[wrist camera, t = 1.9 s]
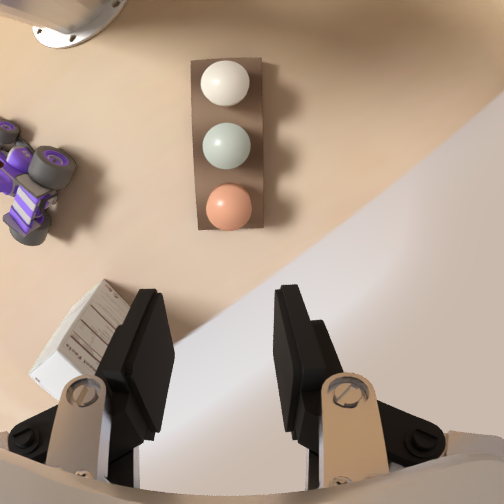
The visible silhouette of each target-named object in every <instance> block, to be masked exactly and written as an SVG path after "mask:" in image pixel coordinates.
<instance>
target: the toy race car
mask: <svg viewBox="0 0 504 504" xmlns="http://www.w3.org/2000/svg"><path fill="white" fill-rule="evenodd" d="M19 131H20V129H19V127H18V126H17V125H16V124H14V123H13V122H11V121H9V120H5V119H1V118H0V146H1V144H2V147H3V144H12V143H14V142H15V140H16V138H17V136H18V133H19ZM2 147H1V148H0V192H3V193H4V194H6V195H10V196H13V197H15V199H14V202H13V205H12V206H11V209H10V212H9V213H7V214H5V215H4V216H3V221H4V222H5V223H6V224H7V225H8V226H9V229H10V233H11V235H12V236H13V237H14V238H15V239H16V240H17V241H18V242H20V243H22V244H24V245H28V246H37V245H40V244H42V243H43V242H44V240H45V238H46V236H47V233H48V230H49V228H50V225H51V218H50V216H49V214H48V213H47V212H46V211H44V209H46V208H48V207H50V206H51V205H54V204H55V203H56V201H57V198H58V193H56V192H55V190H60V189H64V188H65V187H66V186H67V185H68V183H69V181H70V179H71V177H72V174H73V172H74V170H75V168H76V163H75V161H74V160H73V159H72V158H71V157H70V156H69V155H68V154H66V153H65V152H63V151H62V150H60V149H57V148H54V147H51V146H40V147H38V148H37V149H36V151H35V152H34V151H33V149H32V148H31V147H30V145H29V144H28V143H27V142H25V141H24V140H23V139H22V138H20V137H19V136H18V138H17V141H16V143H15V146H14V147H13V148H12V149H11V150H10V152H5V150H3V149H2Z"/></svg>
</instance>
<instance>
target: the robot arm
mask: <svg viewBox="0 0 504 504" xmlns="http://www.w3.org/2000/svg"><path fill="white" fill-rule="evenodd" d="M127 1H128V0H0V16H2V17H6V18H9V19H12V20H15V21H19V22H22V23H25V24H28V25H31V26H33V32H34V35H35V37H36V38H37V40H38V41H39V42H40V43H41V44H43V45H45V46H47V47H50V48H55V49H63V48H69V47H73V46H76V45H78V44H81V43H83V42H85V41H87V40H89V39H90V38H92V37H94V36H95V35H97V34H98V33H99V32H101V31H102V30H103V29H104V28H105V27H107V26H108V25H109V24H110V23H111V22H112V21H113V20H114V19H115V18H116V16H117V15H118V14H119V13H120V12H121V10H122V9H123V7H124V6H125V4H126V3H127ZM117 2H120V4H119V5H118V6H117V7H114V5H115V4H116V3H117ZM41 29H42V32H41V33H40V34H39V32H40V30H41ZM74 36H76V39H75V40H74V41H73V42H71V40H72V38H73V37H74ZM273 357H274V363H275V370H276V376H277V382H278V389H279V396H280V401H281V409H282V415H283V422H284V428H285V432H291V433H292V439H293V440H298V443H299V444H301V445H303V446H304V447H306V448H307V460H306V488H305V491H299V492H291V493H281V494H269V495H252V496H204V495H203V496H202V495H187V494H174V493H165V492H157V491H150V490H143V489H140V478H139V445H140V444H142V443H143V442H144V440H151V441H154V436H155V432H157V433H159V432H160V430H161V425H162V420H163V414H164V409H165V404H166V398H167V393H168V388H169V383H170V378H171V373H172V368H173V364H174V359H175V352H174V347H173V343H172V338H171V334H170V329H169V325H168V320H167V315H166V310H165V305H164V300H163V295H162V293H157V290H156V289H140V290H139V292H138V294H137V295H136V297H135V299H134V301H133V303H132V305H131V307H130V309H129V311H128V313H127V315H126V317H125V320H124V322H123V324H122V325H118V327H117V328H116V330H115V332H114V334H113V336H112V338H111V340H110V342H109V344H108V346H107V348H106V351H105V353H104V355H103V357H102V359H101V361H100V364H99V366H98V368H97V370H96V372H95V375H88V374H87V375H80V376H78V377H75V378H73V379H72V380H70V381H69V382H68V383H67V384H66V385H65V386H64V388H63V391H62V393H61V397H60V401H59V404H58V405H56V406H54V407H52V408H50V409H48V410H46V411H44V412H42V413H40V414H38V415H35V416H33V417H31V418H29V419H27V420H25V421H23V422H21V423H19V424H17V425H16V426H15V427H14V428H13V429H12V430H11V432H10V434H9V433H8V432H7V431H5V432H1V433H0V504H504V439H502V438H501V437H498V436H492V435H481V434H472V433H464V432H456V431H449V432H448V433H443V432H442V430H441V429H440V428H439V427H438V426H437V425H435V424H433V423H431V422H429V421H426V420H424V419H421V418H419V417H416V416H413V415H411V414H409V413H406V412H404V411H401V410H399V409H397V408H394V407H392V406H390V405H387V404H385V403H383V402H380V401H378V400H377V399H376V395H375V390H374V388H373V386H372V384H371V383H370V382H369V381H368V380H367V379H366V378H364V377H363V376H361V375H358V374H355V373H347V372H343V369H342V367H341V364H340V361H339V359H338V356H337V354H336V351H335V349H334V346H333V344H332V341H331V339H330V336H329V334H328V331H327V329H326V326H325V324H324V322H323V320H312V321H310V318H309V316H308V313H307V310H306V307H305V304H304V302H303V299H302V296H301V293H300V290H299V287H298V285H296V284H294V285H281V288H280V289H278V290H275V301H274V335H273Z"/></svg>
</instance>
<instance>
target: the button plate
mask: <svg viewBox="0 0 504 504" xmlns="http://www.w3.org/2000/svg"><path fill="white" fill-rule="evenodd" d="M225 60H226V61H233V62H236V63H238V64H240V65H241V66H242V67H243V68H244V69H245V70H246V71H247V73H248V76H249V88H248V91H247V94H246V96H245V97H244V98H243V100H242V101H240V102H239V103H237V104H235V105H233V106H228V107H223V106H218V105H215V104H214V103H212V102H211V101H210V100H209V99H208V98H207V97H206V96H205V95H204V93H203V91H202V89H201V78H202V75H203V73H204V72H205V70H206V69H207V68H208V67H209V66H210V65H212V64H214V63H216V62H219V61H225ZM191 107H192V136H193V157H194V175H195V191H196V205H197V219H198V230H213V229H218V228H217V227H215V226H214V225H213V224H212V223H211V222H210V221H209V219H208V217H207V213H206V205H207V201H208V199H209V196H210V194H211V192H212V191H213V189H214V188H215V187H217V186H218V185H220V184H223V183H227V182H232V183H236V184H239V185H241V186H242V187H243V188H245V190H246V191H247V192H248V194H249V196H250V200H251V206H252V212H251V216H250V218H249V220H248V222H247V223H246V224H245V225H244V226H243V227H241V228H264V206H263V109H262V58H225V59H207V60H195V61H191ZM221 123H233V124H236V125H238V126H240V127H241V128H243V129H244V130H245V131H246V133H247V134H248V136H249V139H250V144H251V148H250V153H249V155H248V157H247V159H246V160H245V161H244V162H243V163H242V164H241V165H239V166H238V167H235V168H232V169H220V168H217V167H215V166H213V165H212V164H211V163H210V162H209V161H208V160H207V159H206V157H205V155H204V152H203V140H204V137H205V135H206V134H207V132H208V131H209V130H210V129H211V128H212V127H214V126H216V125H218V124H221ZM239 229H240V228H239Z"/></svg>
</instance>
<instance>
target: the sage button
mask: <svg viewBox="0 0 504 504" xmlns="http://www.w3.org/2000/svg"><path fill="white" fill-rule="evenodd" d="M250 148H251V144H250V139H249V136H248V134H247V133H246V131H245V130H244V129H243V128H241V127H240V126H238V125H236V124H233V123H221V124H218V125H216V126H214V127H212V128H211V129H210V130H209V131H208V132H207V134H206V135H205V137H204V140H203V152H204V155H205V157H206V159H207V160H208V161H209V162H210V163H211V164H212V165H213V166H215V167H217V168H220V169H232V168H235V167H238V166H239V165H241V164H242V163H243V162H244V161H245V160H246V159H247V157H248V155H249V153H250Z"/></svg>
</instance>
